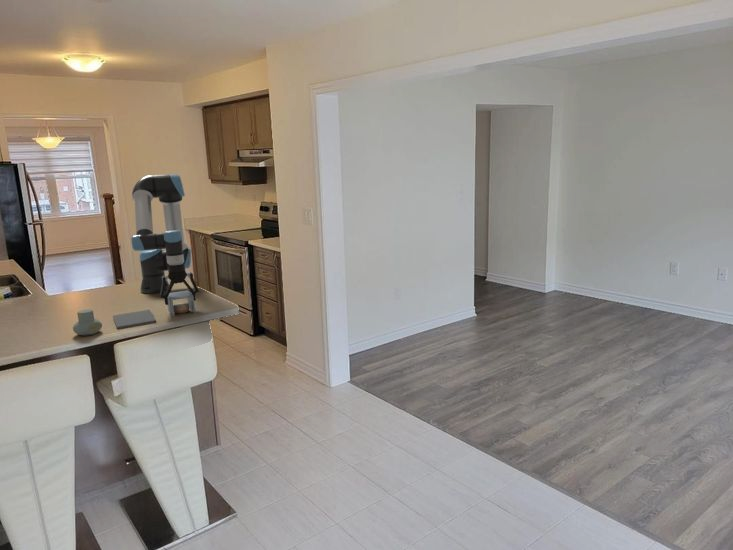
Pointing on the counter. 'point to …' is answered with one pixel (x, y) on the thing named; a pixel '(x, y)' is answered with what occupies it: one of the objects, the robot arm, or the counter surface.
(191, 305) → the grey arch block
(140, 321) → the mat
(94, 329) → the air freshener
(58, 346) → the counter surface
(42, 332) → the counter surface
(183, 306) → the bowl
